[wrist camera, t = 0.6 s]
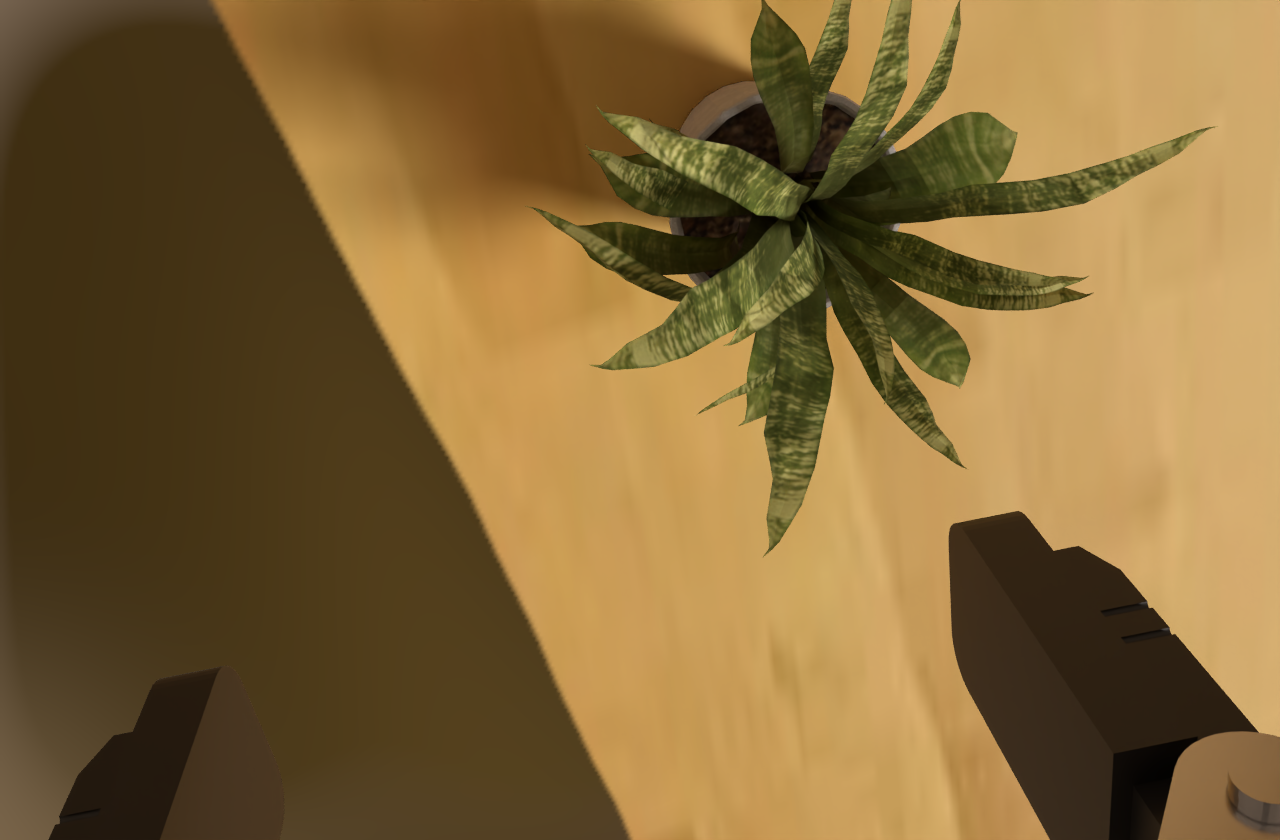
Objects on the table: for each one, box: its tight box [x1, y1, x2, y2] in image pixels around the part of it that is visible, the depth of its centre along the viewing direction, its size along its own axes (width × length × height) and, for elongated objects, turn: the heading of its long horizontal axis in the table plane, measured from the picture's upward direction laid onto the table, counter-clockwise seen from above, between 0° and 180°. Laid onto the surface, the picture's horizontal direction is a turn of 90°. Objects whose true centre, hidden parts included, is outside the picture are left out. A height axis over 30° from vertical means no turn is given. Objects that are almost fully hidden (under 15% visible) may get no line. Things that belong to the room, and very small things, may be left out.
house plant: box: [527, 0, 1217, 557], centre depth 31 cm, size 14×14×16 cm
